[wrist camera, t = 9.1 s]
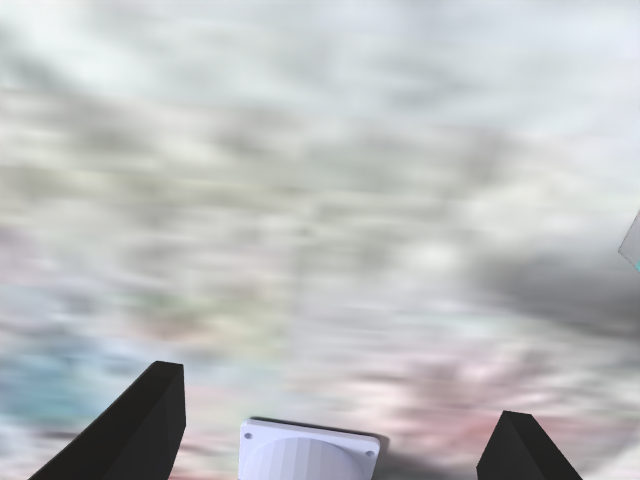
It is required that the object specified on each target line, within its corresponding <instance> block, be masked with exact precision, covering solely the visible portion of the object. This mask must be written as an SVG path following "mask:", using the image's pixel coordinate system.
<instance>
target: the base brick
mask: <svg viewBox="0 0 640 480" xmlns="http://www.w3.org/2000/svg"><path fill="white" fill-rule="evenodd" d="M618 252H619V253H620V254H621V255H622V256H623V257H624V258H625V259H627V260H628V261H629V262H630V263H631V264H632V265H633V266H634V267H635V268H636V269H637V270H638V271H639V272H640V211H639V213H638V215H637V217H636V219H635V221H634V223H633V225H632V226H631V228H630V230H629V232H628V234H627V236H626V238H625V240H624V242H623V243H622V245H621V247H620V249H619V251H618Z"/></svg>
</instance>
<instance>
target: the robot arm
mask: <svg viewBox="0 0 640 480" xmlns="http://www.w3.org/2000/svg"><path fill="white" fill-rule="evenodd" d="M185 427H186V412H185V391H184V369H183V364H177V363H170V362H163V361H155V362H154V363H152V364H151V365H150V366H149V367H148V368H147V369H146V370H145V371H144V372H143V373H142V374H141V375H140V376H139V377H138V378H137V379H136V380H135V381H134V382H133V383H132V384H131V385H130V386H129V387H128V388H127V389H126V390H125V391H124V392H123V393H122V394H121V395H120V396H119V397H118V398H117V399H116V400H115V401H114V402H113V403H112V404H111V405H110V406H109V407H108V408H107V409H106V410H105V411H104V412H103V413H102V414H101V415H100V416H99V417H98V418H97V419H95V420H94V421H93V422H92V423H91V424H90V425H89V426H88V427H87V428H86V429H85V430H84V431H83V432H81V433H80V434H79V435H78V436H77V437H76V438H75V439H74V440H73V441H72V442H71V443H70V444H68V445H67V446H66V447H65V448H64V449H63V450H62V451H60V452H59V453H58V454H57V455H56V456H55V457H54V458H52V459H51V460H50V461H49V462H48V463H47V464H45V465H44V466H43V467H42V468H41V469H40V470H38V471H37V472H36V473H35V474H34V475H33V476H31V477H30V478H29V479H28V480H168V477H169V475H170V473H171V470H172V467H173V464H174V461H175V458H176V455H177V452H178V449H179V446H180V443H181V440H182V437H183V433H184V430H185ZM379 451H380V441H379V440H378V439H377V438H375V437H370V436H363V435H357V434H350V433H343V432H336V431H329V430H322V429H315V428H308V427H301V426H294V425H287V424H280V423H273V422H266V421H259V420H253V419H247V420H244V421H243V422H242V426H241V433H240V454H239V475H238V480H371V478H372V475H373V471H374V468H375V464H376V461H377V458H378V454H379ZM476 468H477V476H478V480H583V479H582V478H581V477H580V476H579V474H578V473H577V472H576V471H575V469H574V468H573V467H572V466H571V464H570V463H569V462H568V460H567V459H566V458H565V457H564V455H563V454H562V453H561V452H560V450H559V449H558V448H557V446H556V445H555V444H554V443H553V441H552V440H551V439H550V438H549V436H548V435H547V434H546V432H545V431H544V430H543V429H542V427H541V426H540V425H539V424H538V422H537V421H536V420H535V419H534V417H533V416H532V415H531V414H525V413H518V412H511V411H503V413H502V415H501V417H500V419H499V421H498V423H497V425H496V427H495V429H494V431H493V434H492V436H491V438H490V440H489V442H488V444H487V446H486V448H485V450H484V452H483V454H482V456H481V459H480V461H479V463H478V465H477V467H476Z"/></svg>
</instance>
